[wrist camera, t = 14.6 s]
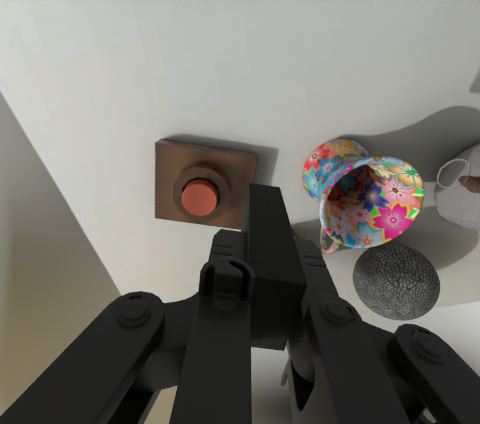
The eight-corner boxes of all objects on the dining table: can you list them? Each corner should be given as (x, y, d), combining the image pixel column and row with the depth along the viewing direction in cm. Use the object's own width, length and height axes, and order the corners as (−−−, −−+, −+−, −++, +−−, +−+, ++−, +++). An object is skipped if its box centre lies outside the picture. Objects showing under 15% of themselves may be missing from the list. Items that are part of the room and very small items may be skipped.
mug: (318, 122, 30) (353, 140, 20) (385, 149, 31) (448, 177, 22) (277, 208, 35) (291, 254, 26) (337, 227, 36) (370, 278, 27)
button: (220, 181, 30) (218, 186, 28) (216, 211, 31) (214, 218, 30) (185, 176, 29) (182, 181, 28) (183, 207, 31) (180, 213, 30)
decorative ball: (331, 274, 40) (357, 329, 31) (362, 222, 36) (401, 268, 27) (387, 288, 42) (426, 344, 33) (423, 239, 37) (480, 288, 28)
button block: (256, 153, 32) (258, 162, 28) (244, 222, 36) (244, 237, 33) (160, 138, 31) (149, 146, 27) (159, 210, 35) (150, 225, 32)
